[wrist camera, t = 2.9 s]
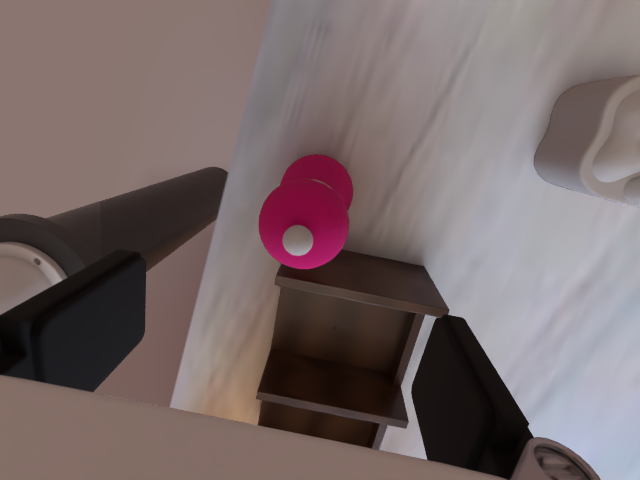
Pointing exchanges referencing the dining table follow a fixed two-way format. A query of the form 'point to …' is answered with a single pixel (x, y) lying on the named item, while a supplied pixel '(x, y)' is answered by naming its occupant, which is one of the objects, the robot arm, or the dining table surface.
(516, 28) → the dining table surface
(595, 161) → the lumpy-topped squat cylinder
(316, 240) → the pepper mill
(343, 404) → the shelf
